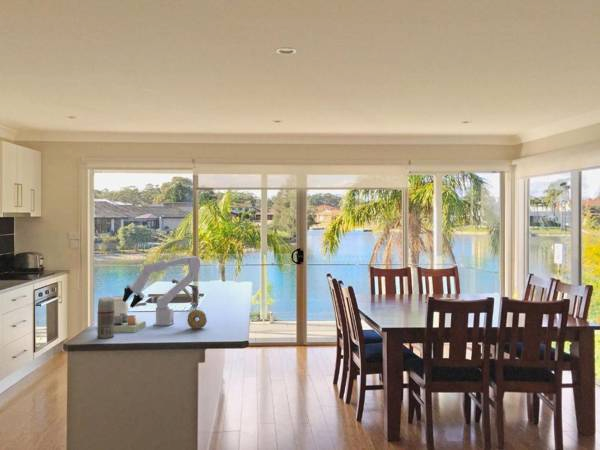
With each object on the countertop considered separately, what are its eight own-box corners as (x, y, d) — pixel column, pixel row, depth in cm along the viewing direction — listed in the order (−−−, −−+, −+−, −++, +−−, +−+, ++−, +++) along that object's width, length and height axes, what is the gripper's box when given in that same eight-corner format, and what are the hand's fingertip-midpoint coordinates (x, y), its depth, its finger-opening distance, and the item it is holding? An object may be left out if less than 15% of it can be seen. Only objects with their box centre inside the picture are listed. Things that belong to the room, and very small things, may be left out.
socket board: (145, 326, 301) (145, 321, 301) (134, 332, 286) (134, 326, 286) (119, 326, 303) (119, 320, 303) (107, 331, 288) (107, 326, 288)
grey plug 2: (128, 321, 300) (128, 313, 300) (125, 322, 296) (125, 314, 296) (121, 321, 301) (121, 313, 301) (118, 322, 297) (118, 314, 297)
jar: (107, 325, 304) (107, 299, 303) (109, 322, 314) (108, 296, 313) (127, 324, 306) (127, 298, 306) (128, 321, 316) (128, 295, 316)
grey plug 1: (123, 323, 293) (123, 315, 293) (119, 325, 289) (119, 316, 289) (116, 323, 293) (115, 315, 293) (112, 325, 289) (112, 316, 289)
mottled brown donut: (186, 329, 293) (186, 310, 293) (188, 327, 297) (188, 309, 297) (205, 329, 293) (205, 310, 293) (207, 328, 296) (207, 309, 296)
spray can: (116, 335, 280) (116, 296, 279) (111, 338, 271) (111, 298, 271) (100, 335, 279) (99, 296, 279) (94, 338, 271) (94, 298, 271)
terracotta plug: (136, 323, 294) (136, 315, 294) (133, 325, 290) (133, 316, 290) (129, 323, 294) (129, 315, 294) (126, 324, 290) (126, 316, 290)
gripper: (127, 275, 305) (115, 296, 304) (142, 285, 297) (129, 307, 295) (136, 279, 311) (124, 300, 309) (151, 289, 302) (138, 311, 301)
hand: (127, 304), depth 303 cm, fingers open, 7 cm apart
